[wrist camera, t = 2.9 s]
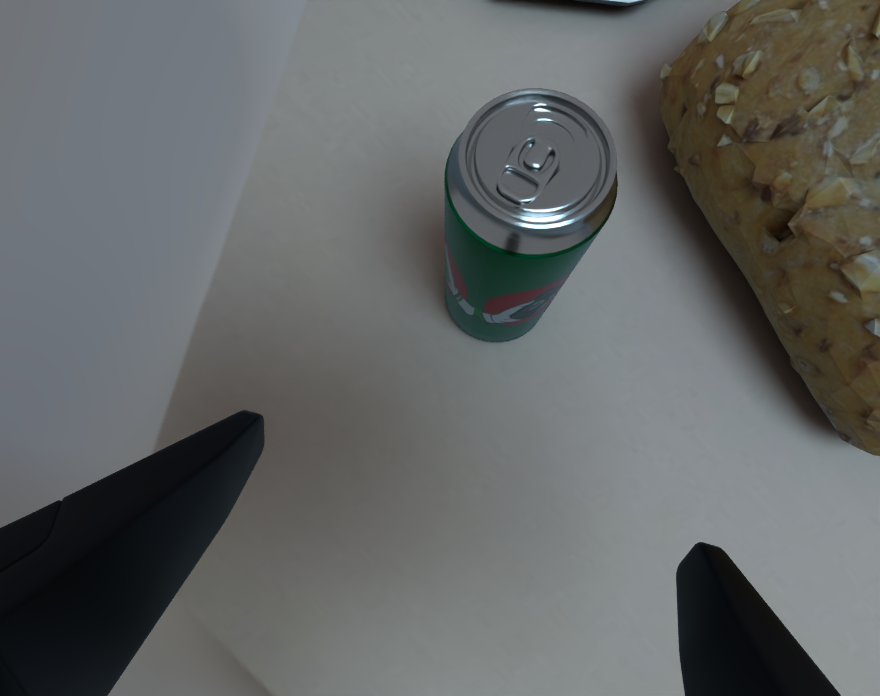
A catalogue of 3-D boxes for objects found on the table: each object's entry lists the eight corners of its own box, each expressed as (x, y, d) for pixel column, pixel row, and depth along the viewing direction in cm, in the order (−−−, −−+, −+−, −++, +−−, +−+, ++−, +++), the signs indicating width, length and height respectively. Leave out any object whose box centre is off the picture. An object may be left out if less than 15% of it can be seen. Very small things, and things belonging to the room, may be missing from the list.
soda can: (561, 282, 25) (664, 127, 13) (512, 364, 24) (575, 276, 12) (477, 234, 26) (504, 47, 14) (426, 312, 25) (408, 182, 13)
